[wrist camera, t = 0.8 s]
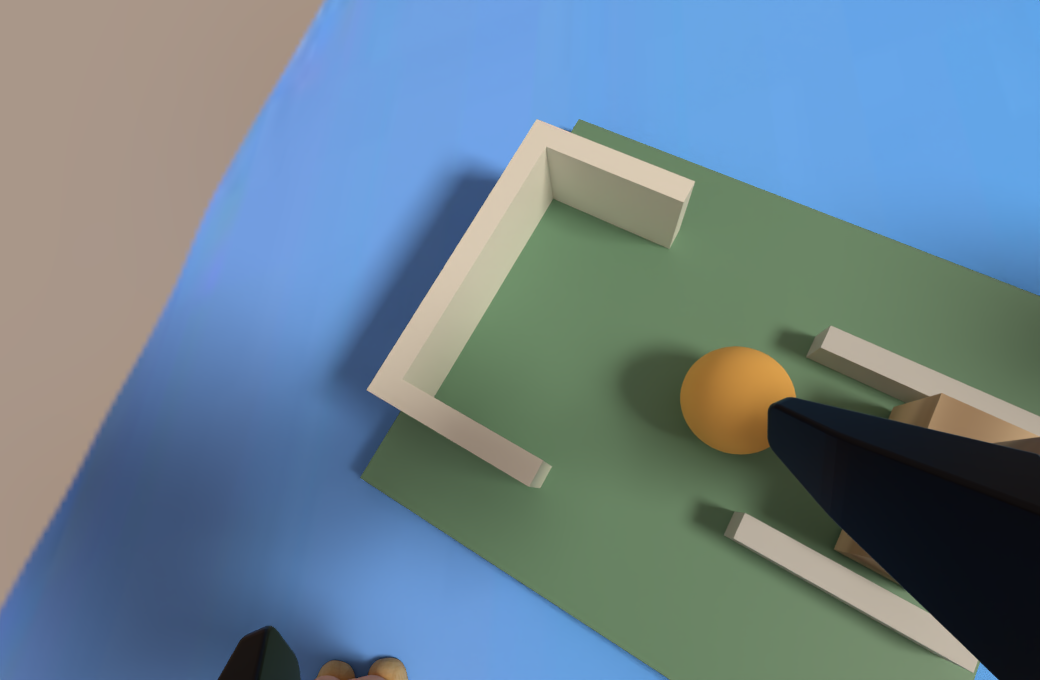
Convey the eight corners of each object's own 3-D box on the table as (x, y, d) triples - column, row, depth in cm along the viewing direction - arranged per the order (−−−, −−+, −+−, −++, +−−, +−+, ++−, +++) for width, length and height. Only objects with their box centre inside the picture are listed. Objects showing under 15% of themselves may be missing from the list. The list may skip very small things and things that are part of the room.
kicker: (976, 445, 20) (1330, 399, 10) (918, 595, 19) (1256, 699, 9) (893, 407, 21) (1152, 331, 11) (833, 549, 19) (1063, 602, 10)
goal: (679, 231, 24) (695, 181, 20) (540, 488, 22) (528, 486, 18) (545, 174, 26) (536, 119, 22) (403, 407, 23) (366, 389, 20)
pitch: (1077, 327, 22) (1137, 306, 19) (900, 822, 18) (946, 872, 16) (579, 131, 27) (578, 97, 25) (369, 478, 24) (344, 476, 21)
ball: (791, 388, 22) (834, 365, 18) (750, 476, 21) (785, 472, 17) (698, 344, 23) (719, 314, 19) (656, 427, 22) (669, 413, 18)
